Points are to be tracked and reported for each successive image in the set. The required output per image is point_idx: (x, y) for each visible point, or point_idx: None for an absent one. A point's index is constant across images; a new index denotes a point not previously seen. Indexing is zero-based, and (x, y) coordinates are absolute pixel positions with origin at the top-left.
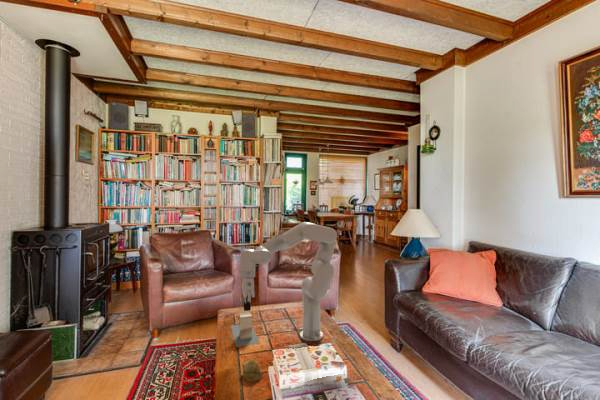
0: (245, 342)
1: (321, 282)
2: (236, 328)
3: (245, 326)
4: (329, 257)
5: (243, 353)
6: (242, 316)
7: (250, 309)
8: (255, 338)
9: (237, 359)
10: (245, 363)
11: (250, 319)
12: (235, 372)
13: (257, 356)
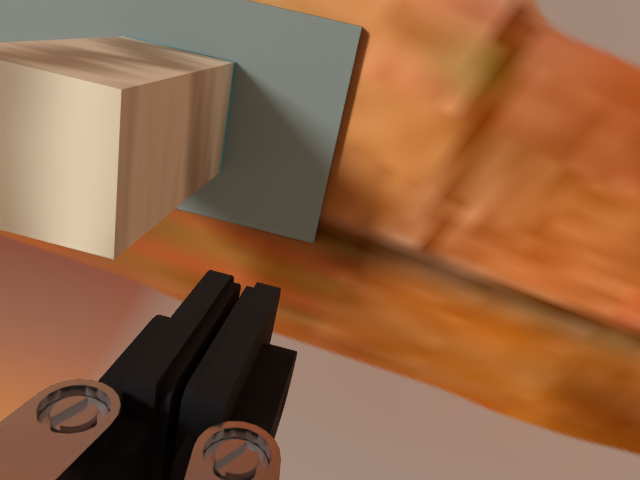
0: (277, 148)
1: None
2: None
3: (177, 157)
4: None
5: (430, 225)
6: (87, 223)
7: (279, 294)
8: (250, 29)
9: (485, 295)
10: None
11: (145, 107)
12: (636, 367)
13: (557, 148)
